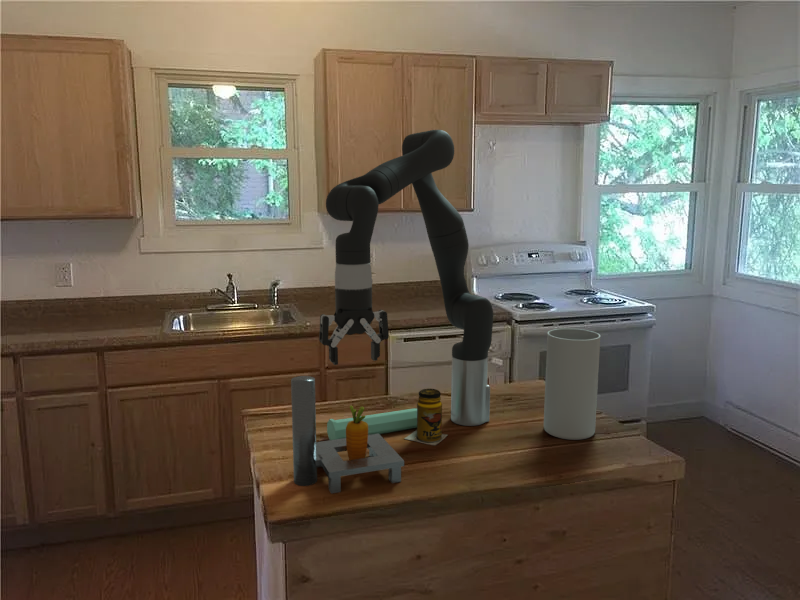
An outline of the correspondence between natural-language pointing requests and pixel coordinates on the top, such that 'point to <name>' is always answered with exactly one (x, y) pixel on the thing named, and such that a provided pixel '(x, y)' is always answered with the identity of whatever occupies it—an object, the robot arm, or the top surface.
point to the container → (376, 423)
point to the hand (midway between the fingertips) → (354, 361)
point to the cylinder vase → (571, 383)
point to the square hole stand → (331, 445)
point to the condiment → (428, 418)
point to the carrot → (356, 435)
